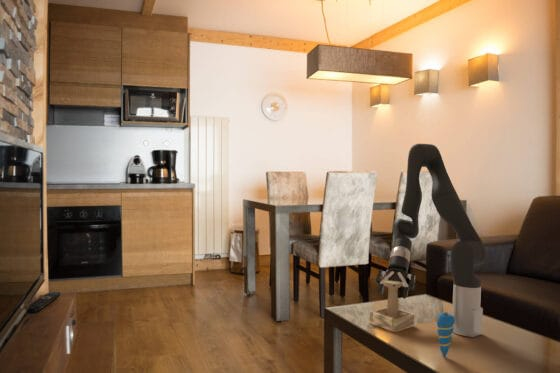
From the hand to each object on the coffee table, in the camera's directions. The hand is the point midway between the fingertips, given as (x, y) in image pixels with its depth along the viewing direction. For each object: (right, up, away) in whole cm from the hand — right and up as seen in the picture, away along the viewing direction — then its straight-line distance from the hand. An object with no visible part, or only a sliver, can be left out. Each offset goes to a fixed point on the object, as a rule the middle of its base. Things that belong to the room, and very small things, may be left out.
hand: (392, 296), depth 172 cm
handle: (0, -10, +1) cm, 10 cm away
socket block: (0, -11, +1) cm, 11 cm away
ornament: (+9, -12, -29) cm, 33 cm away
